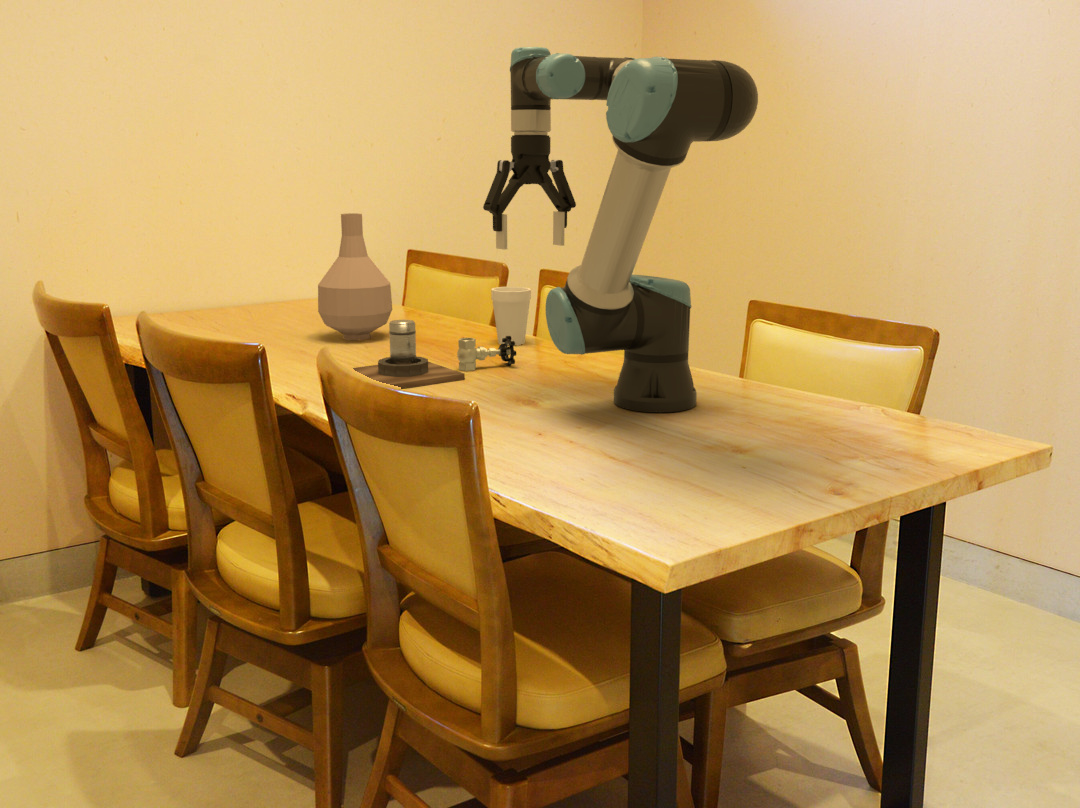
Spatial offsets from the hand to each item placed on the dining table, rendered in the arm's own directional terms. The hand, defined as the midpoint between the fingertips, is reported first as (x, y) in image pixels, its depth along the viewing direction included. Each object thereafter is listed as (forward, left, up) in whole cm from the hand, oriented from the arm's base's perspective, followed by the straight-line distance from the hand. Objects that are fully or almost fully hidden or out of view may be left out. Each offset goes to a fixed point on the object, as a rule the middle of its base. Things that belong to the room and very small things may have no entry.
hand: (530, 247), depth 198 cm
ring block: (+18, +19, -27) cm, 37 cm away
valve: (+16, 0, -27) cm, 32 cm away
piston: (+18, +19, -26) cm, 37 cm away
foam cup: (+36, -20, -27) cm, 49 cm away
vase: (+64, +7, -27) cm, 70 cm away
